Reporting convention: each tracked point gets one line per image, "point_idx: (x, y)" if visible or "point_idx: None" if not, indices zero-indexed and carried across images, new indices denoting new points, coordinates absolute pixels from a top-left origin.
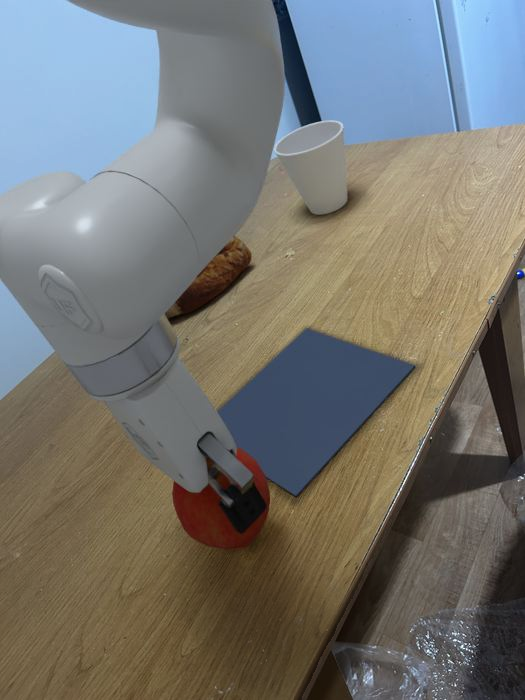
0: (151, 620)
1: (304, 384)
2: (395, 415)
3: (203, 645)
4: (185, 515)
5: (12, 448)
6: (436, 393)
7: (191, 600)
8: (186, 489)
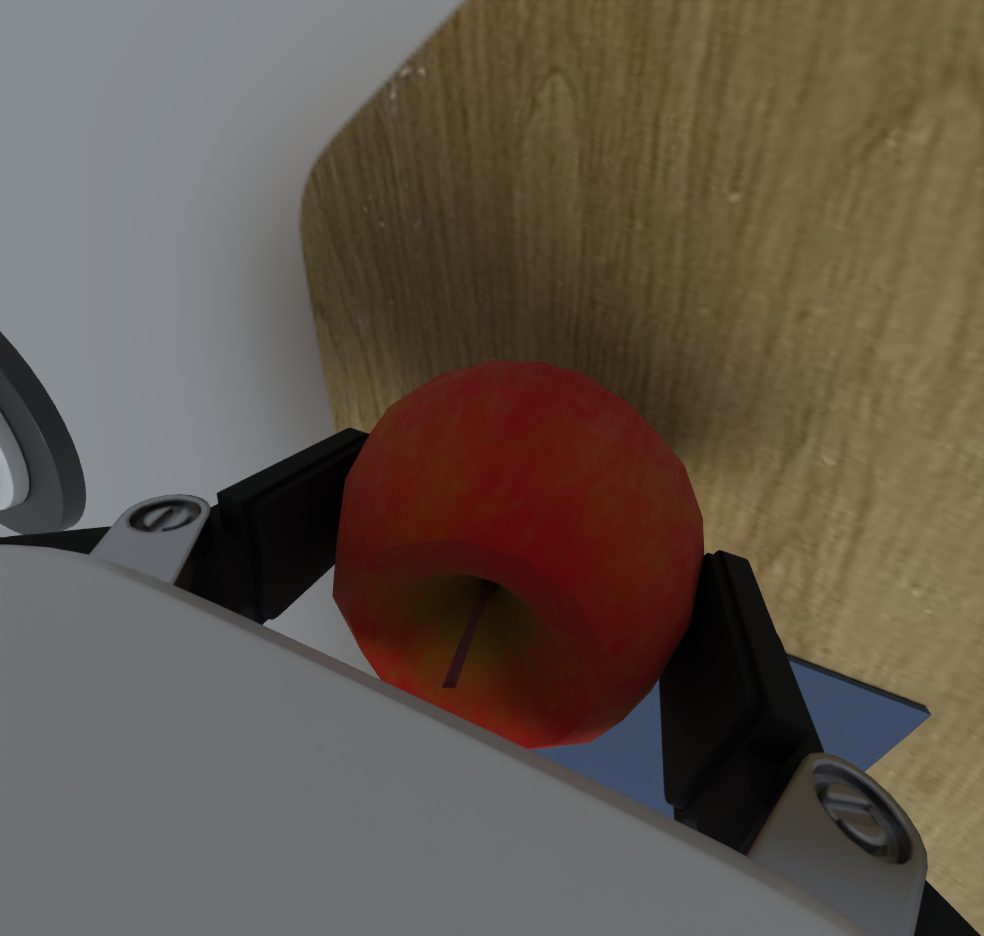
0: (736, 87)
1: (631, 785)
2: None
3: (513, 140)
4: (478, 421)
5: None
6: None
7: (624, 229)
8: (45, 560)
